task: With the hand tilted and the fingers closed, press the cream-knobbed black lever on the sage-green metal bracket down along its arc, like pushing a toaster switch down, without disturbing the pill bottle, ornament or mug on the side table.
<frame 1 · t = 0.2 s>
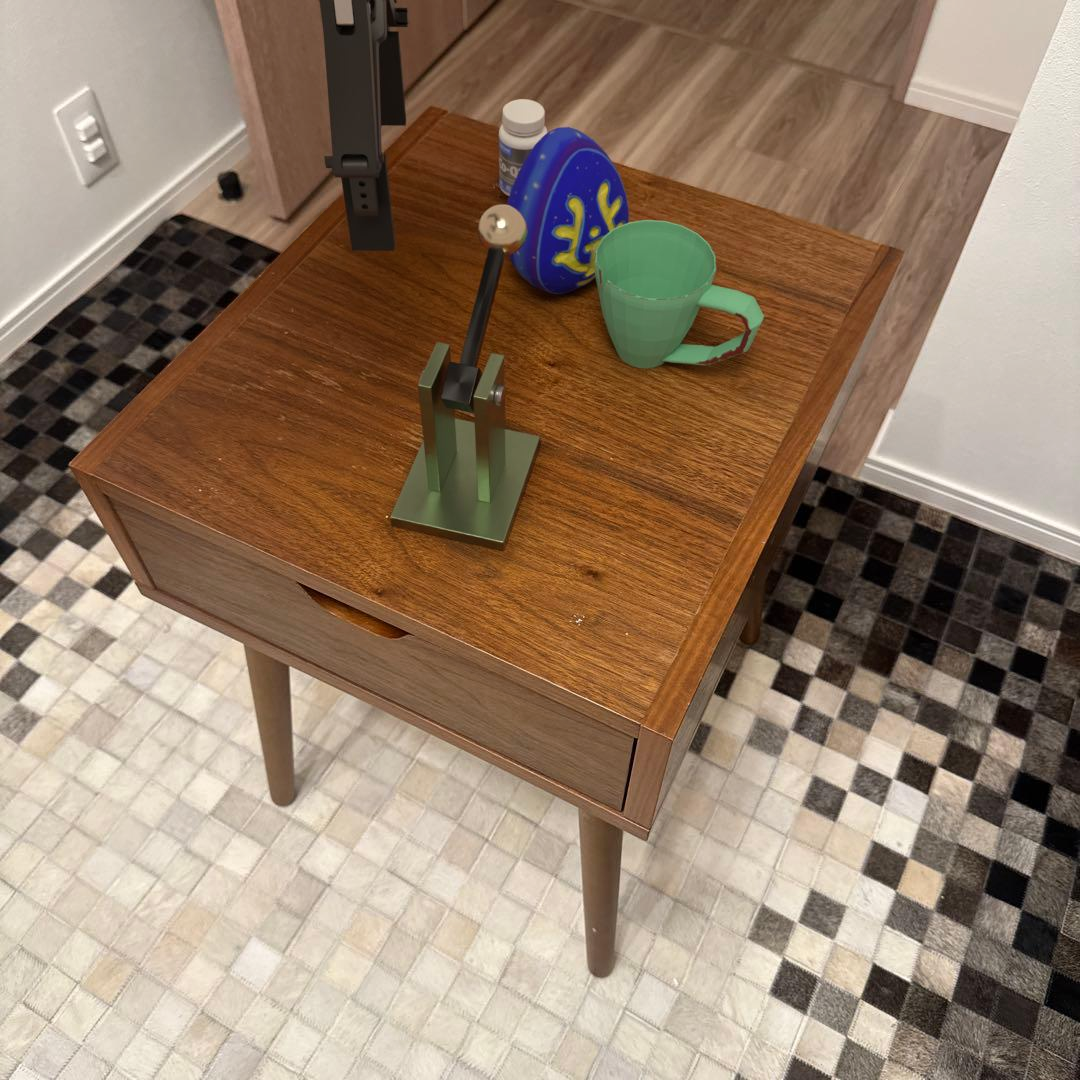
hand: (380, 181, 72), 22 cm above the table, tool pointing down, fingers open, 13 cm apart
pill bottle: (522, 188, 108), on the table
mug: (667, 360, 94), on the table
ornament: (560, 278, 100), on the table
lever: (483, 305, 77), point 14 cm above the table, hinge at 28.0°
bracket: (467, 484, 85), on the table
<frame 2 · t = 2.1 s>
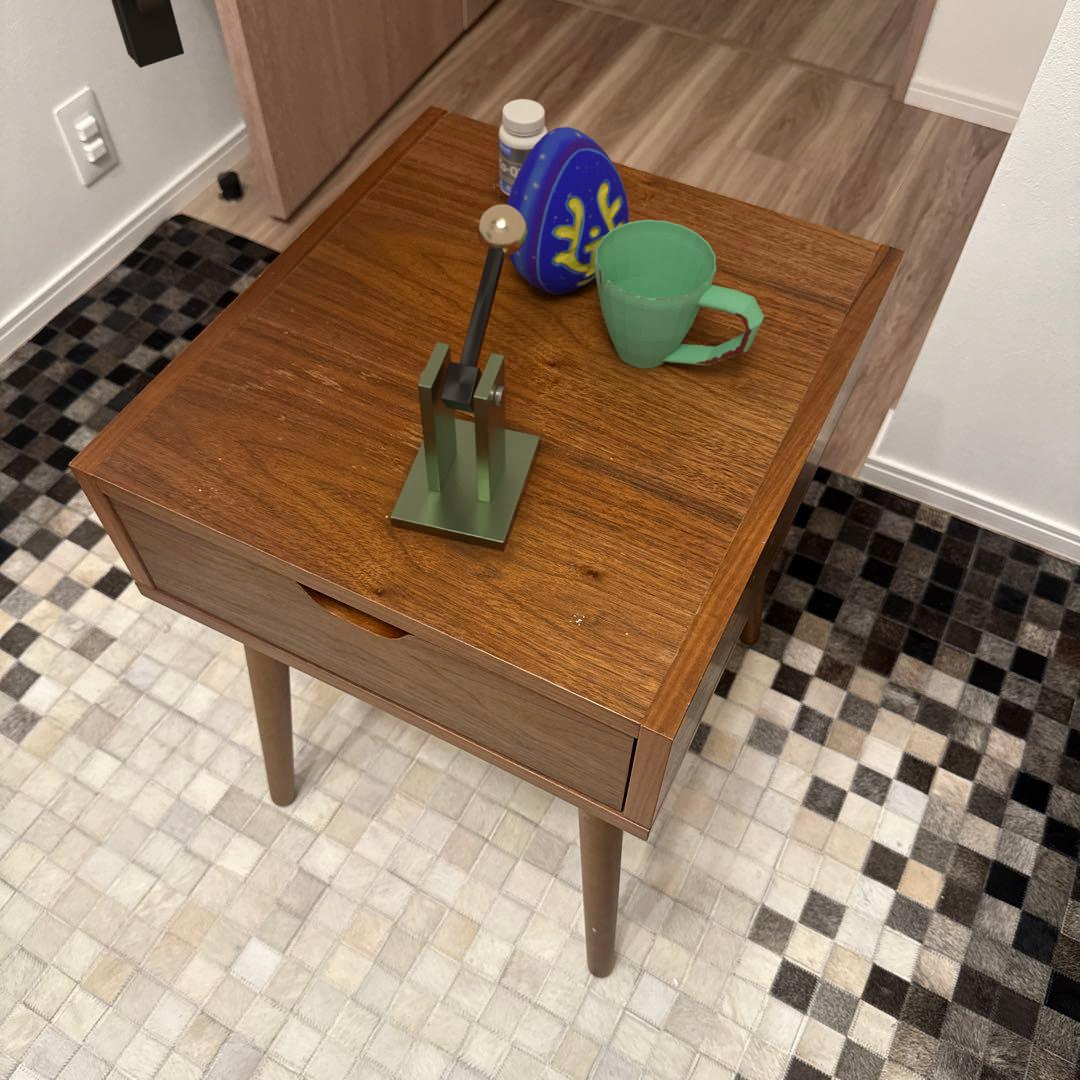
hand: (156, 53, 62), 32 cm above the table, tool pointing down, fingers closed
nothing on the table moved.
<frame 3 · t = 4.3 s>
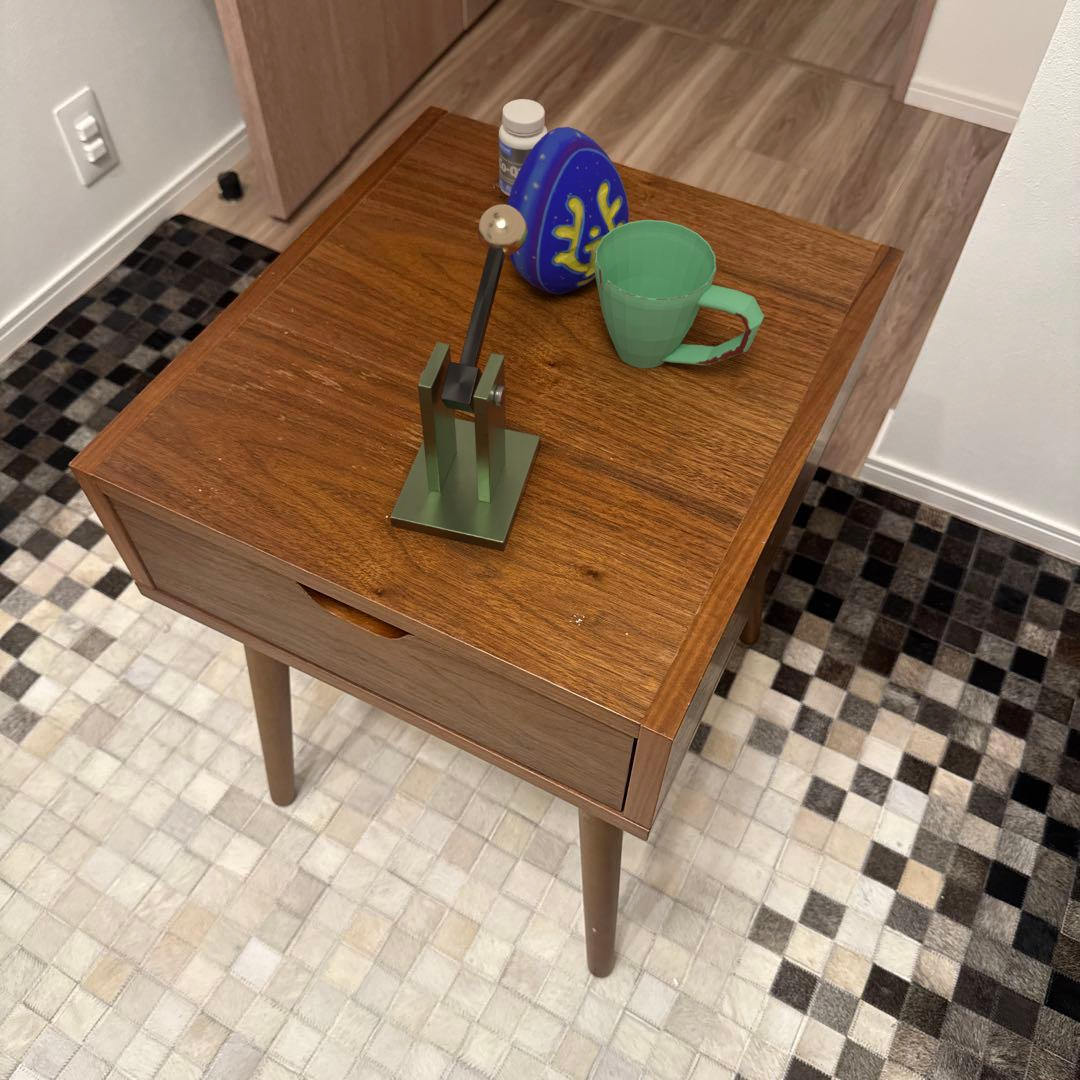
nothing on the table moved.
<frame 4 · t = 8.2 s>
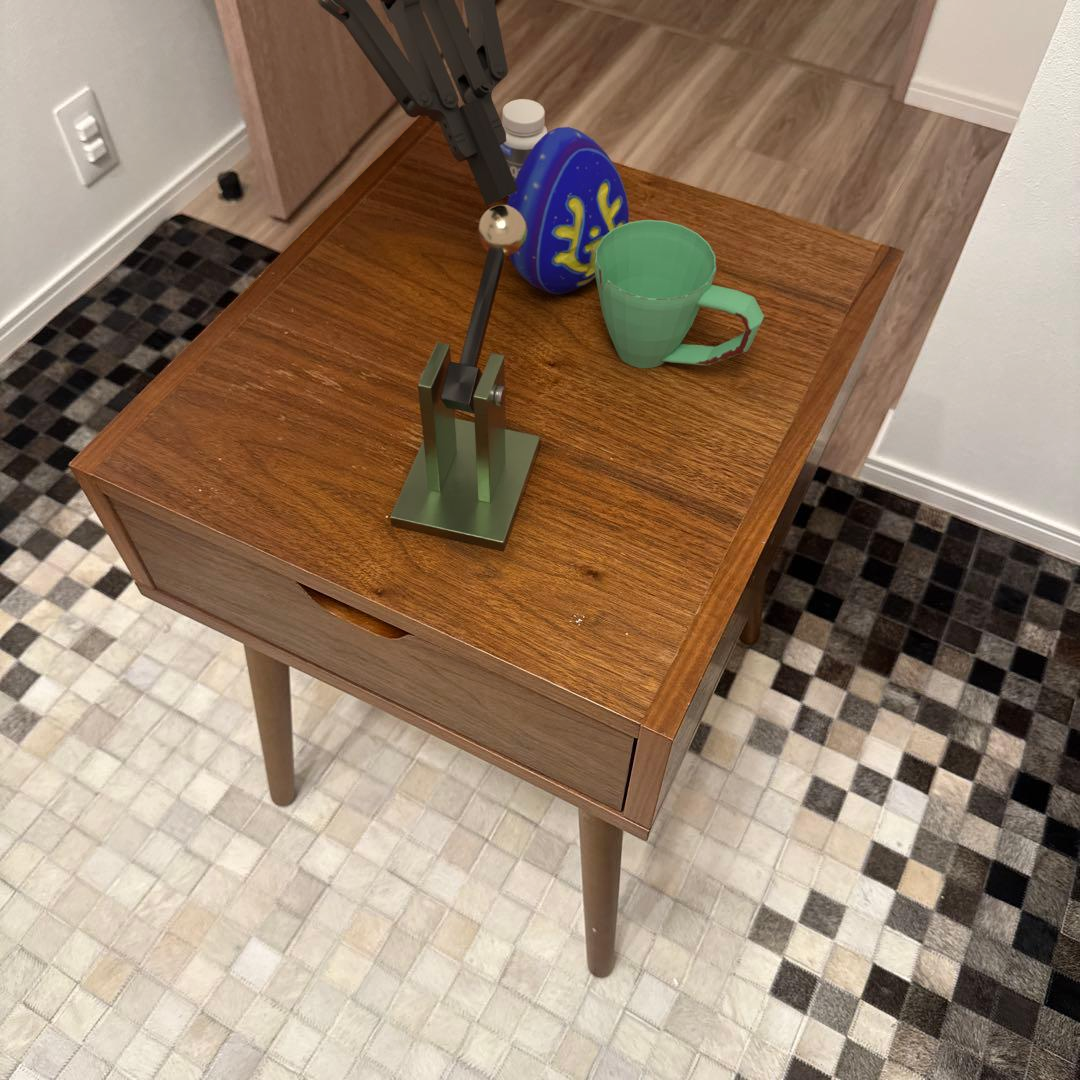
hand: (502, 197, 76), 19 cm above the table, tool tilted 45°, fingers closed
lever: (483, 305, 77), point 14 cm above the table, hinge at 27.7°, touching gripper
everything else where it was.
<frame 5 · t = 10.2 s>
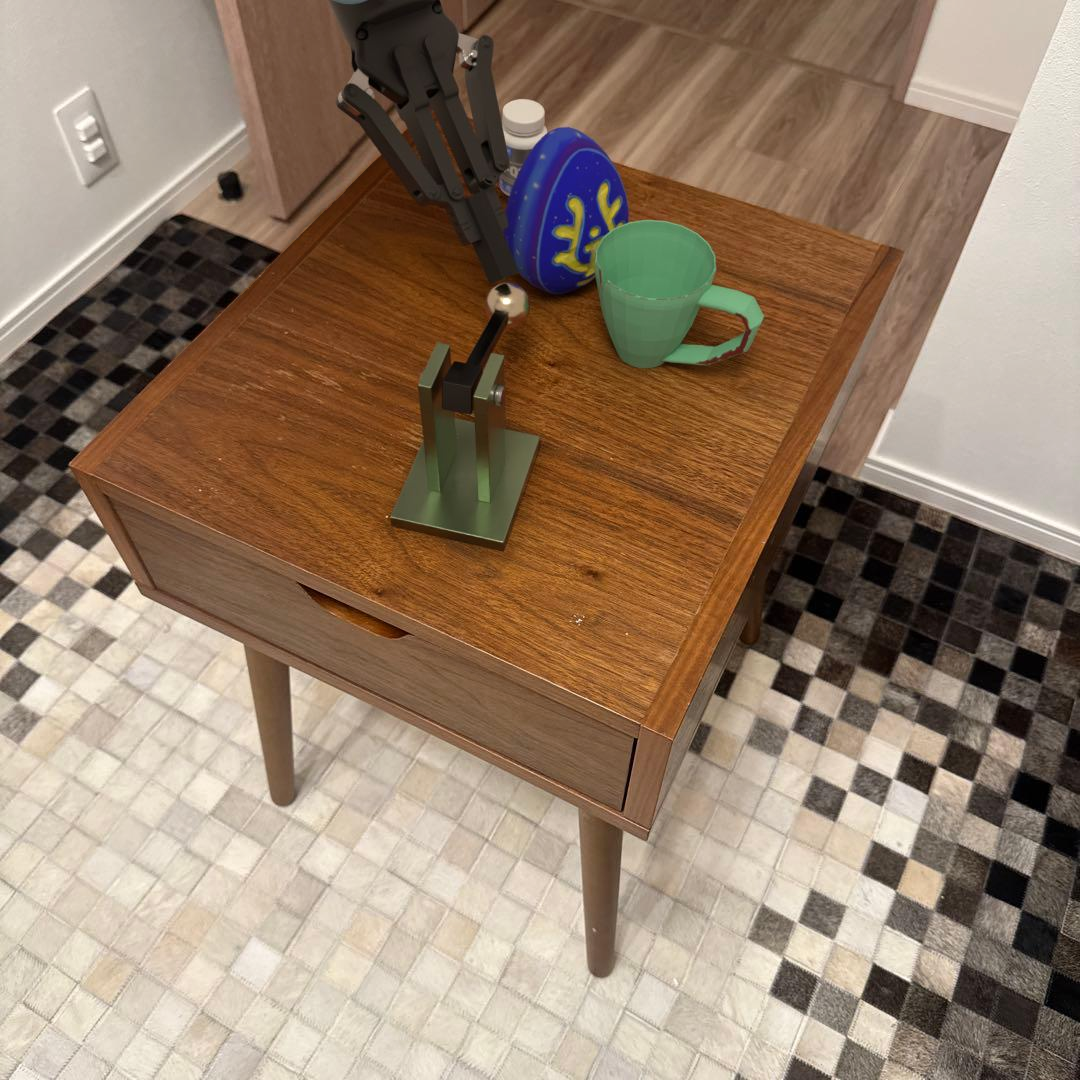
hand: (504, 278, 83), 11 cm above the table, tool tilted 45°, fingers closed
lever: (486, 343, 81), point 10 cm above the table, hinge at -12.2°, touching gripper
everything else where it was.
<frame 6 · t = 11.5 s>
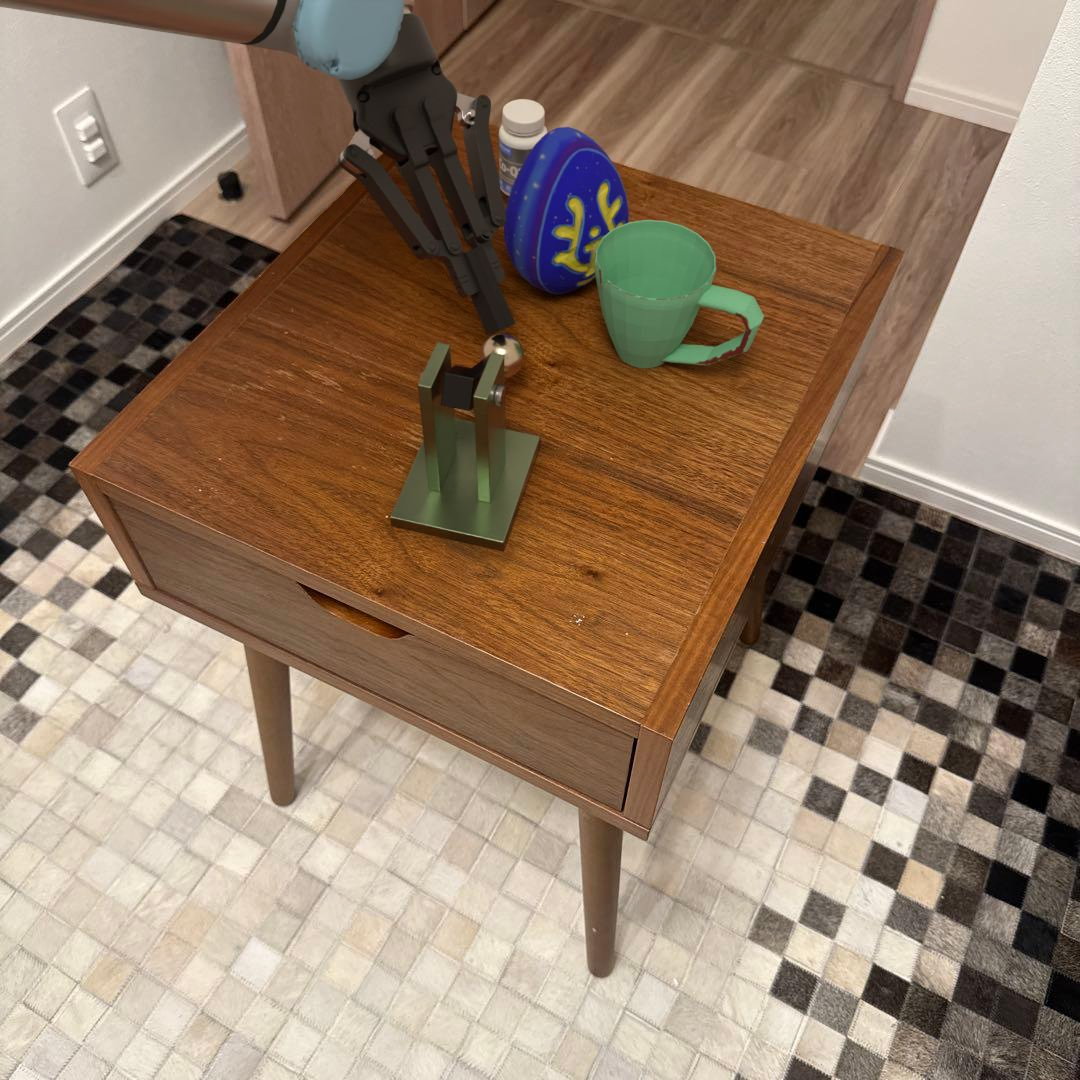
hand: (501, 328, 85), 7 cm above the table, tool tilted 45°, fingers closed
lever: (484, 370, 82), point 8 cm above the table, hinge at -32.5°, touching gripper
everything else where it was.
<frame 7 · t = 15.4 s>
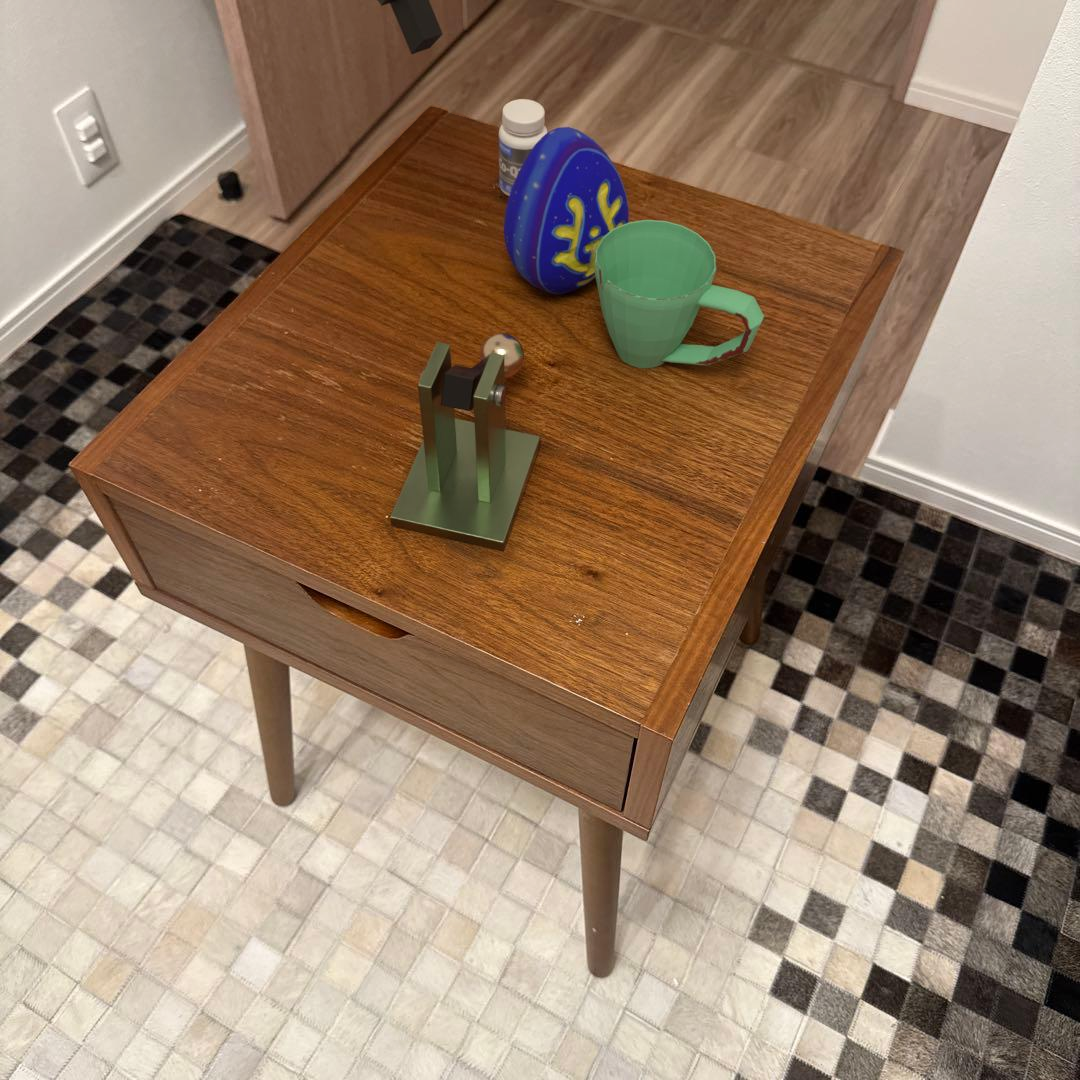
hand: (426, 44, 74), 26 cm above the table, tool tilted 45°, fingers closed
lever: (484, 370, 82), point 8 cm above the table, hinge at -32.6°
everything else where it was.
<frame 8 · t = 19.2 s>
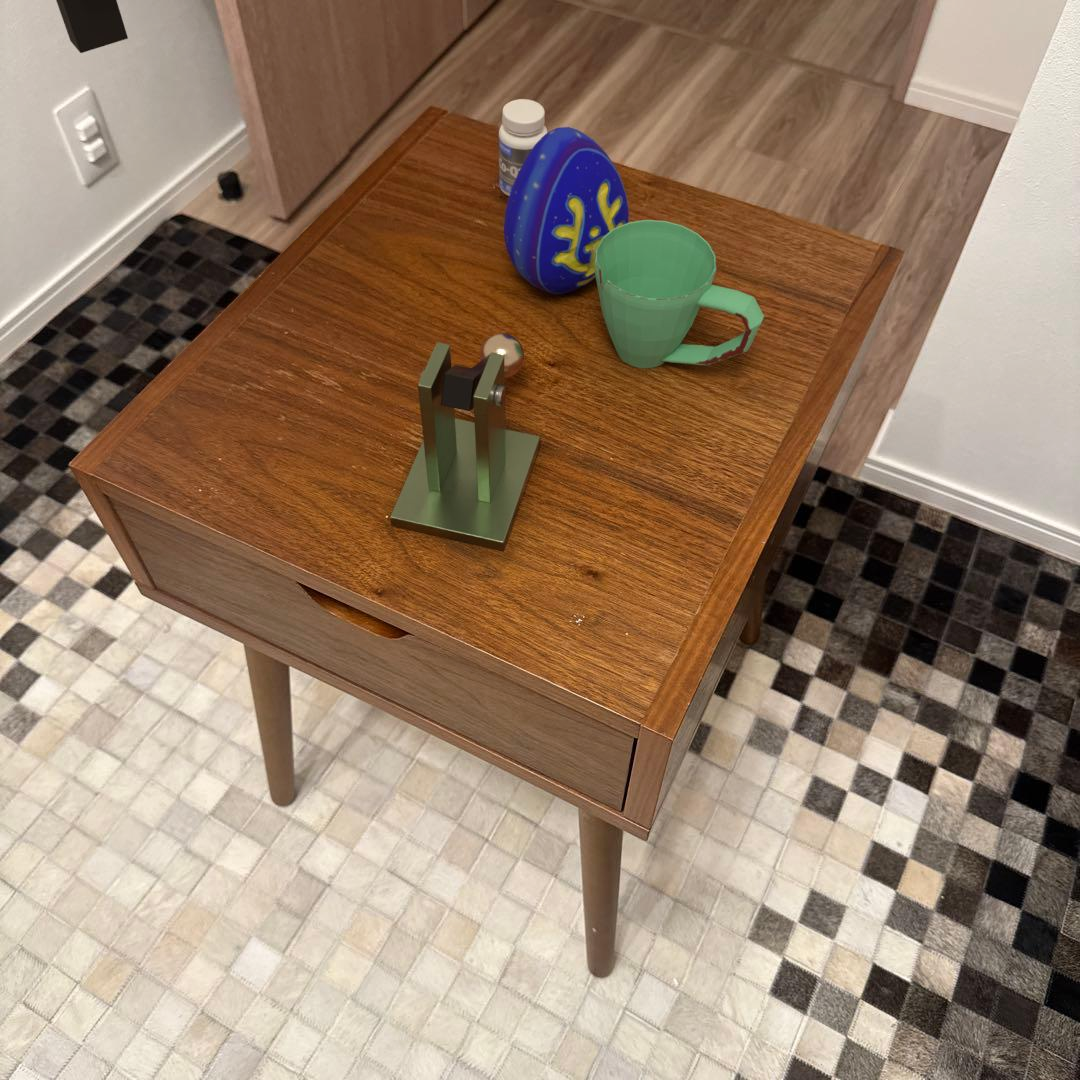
hand: (99, 39, 59), 34 cm above the table, tool pointing down, fingers closed
nothing on the table moved.
at the end: lever at -33° (first picture: +28°); pill bottle moved 0.2 cm from its start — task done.
